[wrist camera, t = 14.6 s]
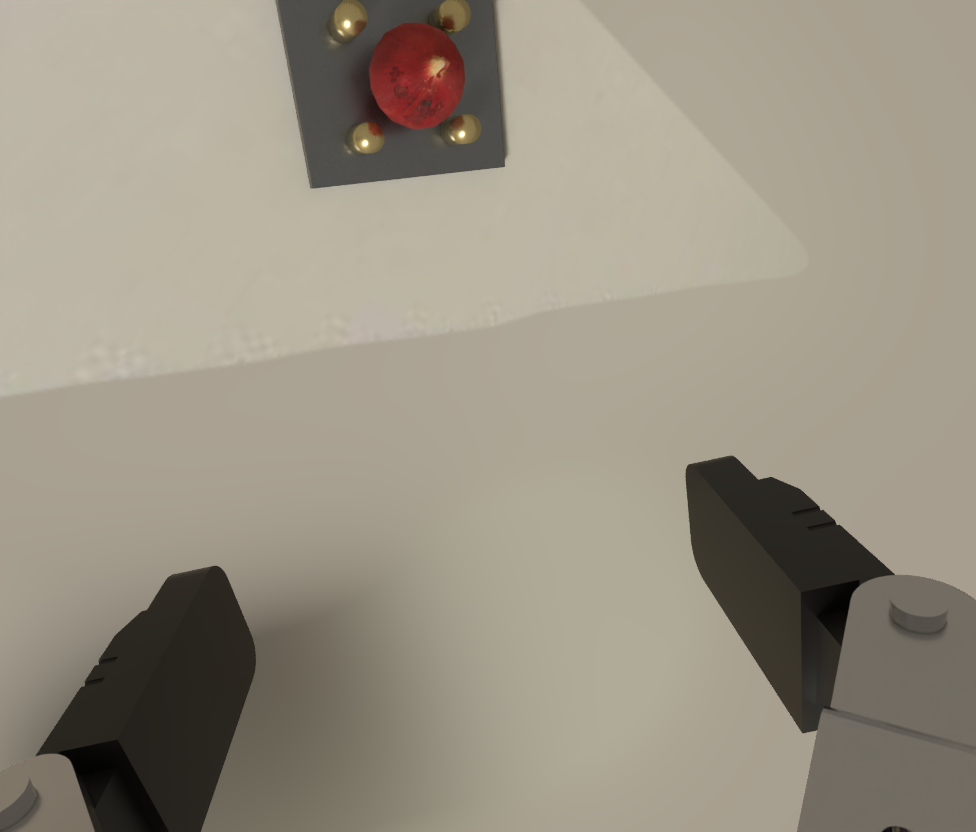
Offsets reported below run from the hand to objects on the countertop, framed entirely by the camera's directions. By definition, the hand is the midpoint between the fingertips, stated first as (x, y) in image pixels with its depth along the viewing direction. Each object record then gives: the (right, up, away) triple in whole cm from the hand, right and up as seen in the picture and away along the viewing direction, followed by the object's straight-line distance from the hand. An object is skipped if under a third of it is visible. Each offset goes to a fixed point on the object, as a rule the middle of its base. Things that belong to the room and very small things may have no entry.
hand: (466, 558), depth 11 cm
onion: (-5, +25, +33) cm, 41 cm away
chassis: (-6, +25, +33) cm, 42 cm away
